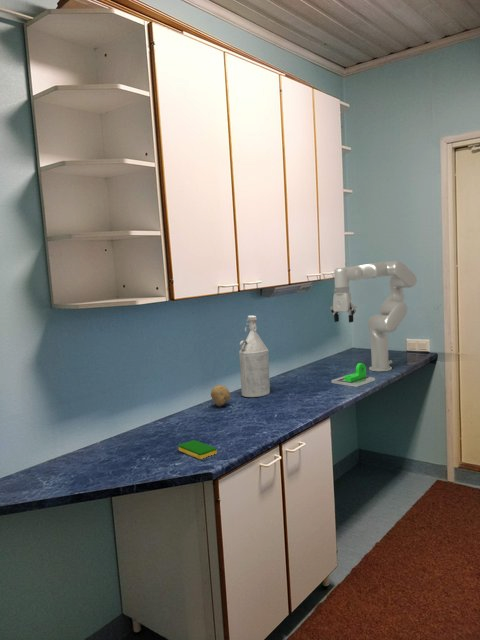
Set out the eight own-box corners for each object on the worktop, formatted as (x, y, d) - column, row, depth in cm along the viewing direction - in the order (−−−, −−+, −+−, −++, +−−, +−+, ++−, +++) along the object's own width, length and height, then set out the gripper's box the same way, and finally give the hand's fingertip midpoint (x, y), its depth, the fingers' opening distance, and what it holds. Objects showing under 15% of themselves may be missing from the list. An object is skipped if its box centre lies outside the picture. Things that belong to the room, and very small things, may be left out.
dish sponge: (194, 446, 187) (194, 439, 186) (217, 454, 176) (216, 448, 176) (178, 451, 182) (177, 444, 182) (200, 460, 171) (200, 453, 171)
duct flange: (349, 377, 278) (349, 373, 278) (375, 380, 266) (374, 377, 266) (331, 382, 268) (331, 379, 268) (356, 386, 256) (356, 383, 256)
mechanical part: (357, 376, 273) (356, 361, 272) (366, 377, 268) (365, 362, 267) (342, 380, 266) (341, 365, 265) (350, 381, 261) (350, 366, 260)
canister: (234, 396, 253) (229, 317, 249) (257, 389, 266) (252, 313, 262) (254, 400, 244) (248, 318, 240) (276, 391, 257) (271, 314, 253)
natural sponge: (224, 402, 244) (223, 381, 243) (234, 405, 236) (233, 384, 236) (208, 406, 239) (206, 385, 238) (218, 409, 232) (216, 388, 231)
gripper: (325, 291, 281) (327, 322, 282) (351, 291, 268) (352, 323, 269) (333, 290, 285) (335, 320, 287) (359, 289, 272) (361, 321, 274)
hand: (343, 321), depth 278 cm, fingers open, 9 cm apart
